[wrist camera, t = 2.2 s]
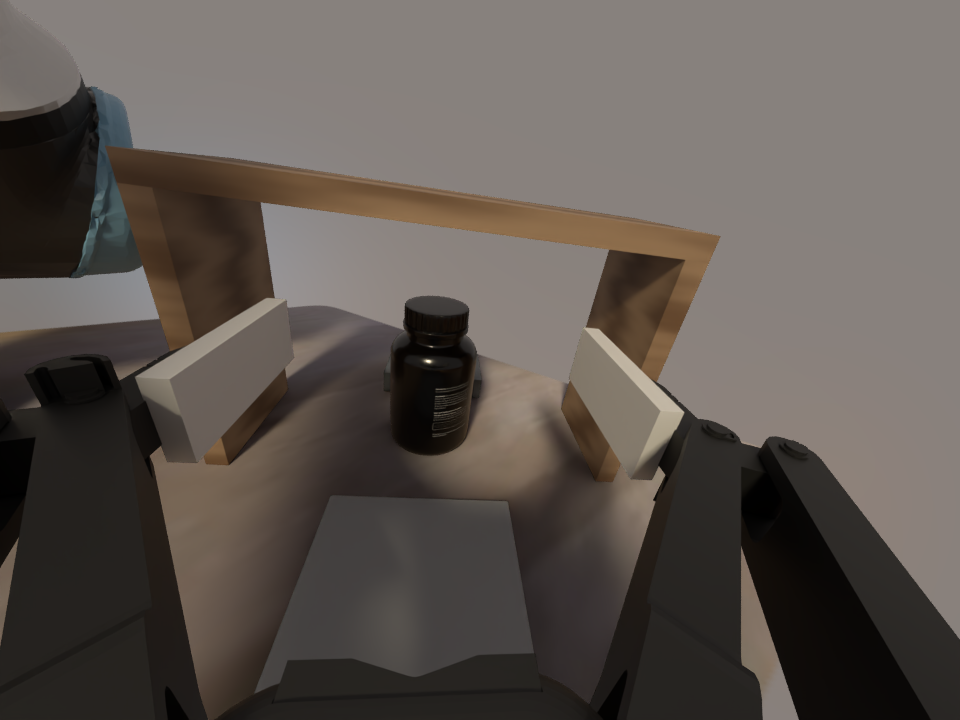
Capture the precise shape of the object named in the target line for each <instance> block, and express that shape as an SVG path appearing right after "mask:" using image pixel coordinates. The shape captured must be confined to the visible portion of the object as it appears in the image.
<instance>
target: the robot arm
mask: <svg viewBox="0 0 960 720" xmlns="http://www.w3.org/2000/svg"><path fill="white" fill-rule="evenodd" d="M105 146H114V147H124V148H133V144H132V138H131V133H130V127H129V122H128V117H127V112H126V109H125V106H124V104H123V102H122V101H121V100H120V99H118V98H117V97H115V96H113V95H111V94H108V93H105V92H103V91H102V90H99V89H97V87H92V86H91V87H85V85H84V82H83V79H82V77H81V74H80V72H79V69H78V66H77V64H76V62H75V61H74V59H73V57H72V56H71V54H70V53H69V51H68V50H67V48H66V47H65V46H64V45H63V44H62V43H61V42H60V41H59V40H58V39H57V38H56V37H55V36H53V35H52V34H51V33H49V32H48V31H47V30H46V29H45V28H43V27H42V26H41V25H39V24H38V23H36V22H35V21H33V20H32V19H31V18H29V17H28V16H26V15H25V14H23V13H22V12H21V11H19V10H18V9H16V8H15V7H14V6H12V5H11V4H10V2H9V0H0V279H5V278H6V279H7V278H64V277H69V278H80V277H83V276H84V275H96V274H110V273H124V272H130V271H133V270H135V269H138V268H140V267H141V266H142V265H143V264H142V261H141V258H140V255H139V252H138V248H137V245H136V242H135V239H134V236H133V233H132V230H131V226H130V223H129V220H128V217H127V214H126V211H125V208H124V204H123V201H122V198H121V195H120V192H119V189H118V186H117V182H116V179H115V176H114V173H113V170H112V167H111V164H110V160H109V157H108V154H107V151H106V148H105ZM293 358H294V353H293V346H292V338H291V331H290V323H289V316H288V309H287V301H286V300H285V299H275V298H266V299H264V300H262V301H261V302H259V303H257V304H256V305H254V306H252V307H251V308H249V309H247V310H246V311H244V312H242V313H241V314H239V315H237V316H236V317H234V318H232V319H231V320H229V321H227V322H226V323H224V324H222V325H221V326H219V327H217V328H216V329H214V330H212V331H211V332H209V333H207V334H206V335H204V336H202V337H201V338H199V339H197V340H196V341H194V342H192V343H191V344H189V345H187V346H184V347H181V348H178V349H175V350H172V351H170V352H168V353H166V354H165V355H163V356H161V357H159V358H158V360H154V361H153V362H151V363H149V364H147V366H146V367H142V368H141V369H139V370H137V371H135V372H134V373H132V374H130V375H129V376H127V377H125V378H123V379H122V380H120V381H119V380H118V377H117V375H116V373H115V370H114V368H113V365H112V363H111V360H110V359H109V358H108V357H107V356H103V355H96V354H84V355H73V356H67V357H62V358H57V359H53V360H50V361H47V362H43V363H40V364H38V365H36V366H34V367H32V368H30V369H29V370H28V371H27V372H26V373H25V374H24V375H25V377H26V378H27V380H28V382H29V384H30V386H31V387H32V389H33V391H34V393H35V395H36V397H37V398H38V400H39V402H40V404H41V407H38V408H28V409H18V410H7V408H6V407H5V405H4V403H3V402H2V400H1V398H0V567H1V565H2V564H3V562H4V561H5V559H6V557H7V556H8V554H9V552H10V551H11V549H12V547H13V546H14V544H15V542H16V541H17V539H18V537H19V540H18V546H17V552H16V557H15V563H14V569H13V575H12V581H11V587H10V593H9V599H8V605H7V611H6V617H5V622H4V628H3V634H2V640H1V646H0V720H208V718H207V715H206V712H205V709H204V707H203V704H202V700H201V697H200V693H199V689H198V684H197V679H196V674H195V670H194V665H193V660H192V655H191V650H190V645H189V640H188V635H187V630H186V625H185V620H184V615H183V610H182V605H181V600H180V595H179V590H178V585H177V580H176V575H175V570H174V565H173V560H172V555H171V550H170V545H169V540H168V535H167V530H166V525H165V520H164V515H163V510H162V505H161V500H160V495H159V491H158V486H157V481H156V476H155V471H154V466H153V463H152V461H151V458H150V455H151V454H152V453H153V452H154V451H155V450H156V449H158V448H159V447H160V446H161V447H162V450H163V452H164V455H165V457H166V460H167V462H180V463H198V462H199V460H200V459H201V458H202V457H203V456H204V455H205V454H206V453H207V452H208V451H209V450H210V449H211V447H212V446H213V445H214V444H215V443H216V442H217V441H218V440H219V439H220V438H221V437H222V436H223V434H224V433H225V432H226V431H227V430H228V429H229V428H230V427H231V426H232V425H233V424H234V422H235V421H236V420H237V419H238V418H239V417H240V416H241V415H242V414H243V413H244V412H245V411H246V409H247V408H248V407H249V406H250V405H251V404H252V403H253V402H254V401H255V400H256V399H257V398H258V396H259V395H260V394H261V393H262V392H263V391H264V390H265V389H266V388H267V387H268V386H269V385H270V383H271V382H272V381H273V380H274V379H275V378H276V377H277V376H278V375H279V374H280V373H281V371H282V370H283V369H284V368H285V367H286V366H287V365H288V364H289V363H290V362H291V361H292V360H293ZM569 379H570V381H571V382H572V384H573V386H574V387H575V389H576V391H577V392H578V394H579V396H580V397H581V399H582V401H583V402H584V404H585V405H586V407H587V409H588V410H589V412H590V414H591V415H592V417H593V419H594V420H595V422H596V424H597V425H598V427H599V428H600V430H601V432H602V433H603V435H604V437H605V438H606V440H607V442H608V443H609V445H610V447H611V448H612V450H613V451H614V453H615V455H616V456H617V458H618V460H619V461H620V463H621V465H622V466H623V468H624V470H625V471H626V473H627V474H628V476H629V478H630V479H635V480H652V479H653V477H654V475H655V473H656V471H657V469H658V466H659V467H660V468H661V469H662V471H663V472H664V473H665V477H664V479H663V481H662V483H661V485H660V487H659V489H658V491H657V493H656V495H655V497H654V499H653V501H655V505H654V509H653V512H652V515H651V518H650V521H649V525H648V528H647V531H646V534H645V537H644V541H643V544H642V547H641V550H640V553H639V557H638V560H637V563H636V566H635V569H634V573H633V576H632V579H631V582H630V586H629V589H628V592H627V595H626V598H625V602H624V605H623V608H622V611H621V614H620V618H619V621H618V624H617V627H616V630H615V634H614V637H613V640H612V643H611V646H610V650H609V653H608V656H607V659H606V662H605V666H604V669H603V672H602V675H601V678H600V680H599V683H598V686H597V688H596V690H595V693H594V695H593V697H592V700H591V702H590V705H589V704H588V703H587V702H585V701H584V700H583V699H582V698H581V697H579V696H578V695H577V694H576V693H575V692H573V691H572V690H570V689H569V688H567V687H566V686H564V685H563V684H561V683H559V682H557V681H555V680H553V679H551V678H549V677H547V676H544V675H541V674H539V673H538V667H537V662H536V656H535V653H524V654H489V655H476V656H474V657H471V658H468V659H466V660H463V661H460V662H457V663H455V664H452V665H449V666H447V667H444V668H441V669H438V670H436V671H433V672H430V673H427V674H425V675H422V676H418V677H411V676H407V675H404V674H401V673H397V672H394V671H391V670H388V669H385V668H382V667H378V666H375V665H372V664H369V663H366V662H362V661H359V660H356V659H353V658H347V659H312V660H288V661H287V664H286V667H285V669H284V672H283V675H282V678H281V681H280V683H278V684H275V685H273V686H270V687H268V688H266V689H264V690H261V691H259V692H257V693H255V694H253V695H251V696H249V697H248V698H246V699H244V700H243V701H241V702H240V703H238V704H236V705H235V706H233V707H231V708H230V709H229V710H227V711H226V712H225V713H223V714H222V715H221V716H219V717H218V718H216V719H215V720H763V717H762V697H761V690H760V684H759V681H758V679H757V677H756V675H755V673H753V672H752V671H750V670H749V669H747V668H746V667H744V666H743V665H742V662H741V547H742V550H743V553H744V556H745V559H746V562H747V565H748V568H749V571H750V574H751V577H752V580H753V583H754V586H755V589H756V592H757V595H758V598H759V601H760V604H761V607H762V610H763V613H764V616H765V619H766V622H767V625H768V628H769V631H770V634H771V637H772V640H773V643H774V646H775V649H776V652H777V655H778V658H779V661H780V664H781V667H782V670H783V673H784V676H785V679H786V682H787V685H788V688H789V691H790V694H791V697H792V700H793V703H794V706H795V709H796V712H797V715H798V718H799V720H960V639H959V638H958V637H957V635H956V634H955V633H954V631H953V630H952V629H951V628H950V626H949V625H948V624H947V622H946V621H945V620H944V618H943V617H942V616H941V615H940V613H939V612H938V611H937V609H936V608H935V607H934V605H933V604H932V603H931V602H930V600H929V599H928V598H927V596H926V595H925V594H924V593H923V591H922V590H921V589H920V587H919V586H918V585H917V583H916V582H915V581H914V579H913V578H912V577H911V576H910V575H909V573H908V572H907V570H906V569H905V568H904V566H903V565H902V564H901V563H900V561H899V560H898V559H897V557H896V556H895V555H894V554H893V552H892V551H891V550H890V548H889V547H888V546H887V544H886V543H885V542H884V541H883V539H882V538H881V537H880V535H879V534H878V533H877V531H876V530H875V529H874V528H873V527H872V525H871V524H870V522H869V521H868V520H867V518H866V517H865V516H864V515H863V513H862V512H861V511H860V509H859V508H858V507H857V505H856V504H855V503H854V502H853V500H852V499H851V498H850V496H849V495H848V494H847V492H846V491H845V490H844V489H843V487H842V486H841V485H840V484H839V482H838V481H837V479H836V478H835V477H834V476H833V474H832V473H831V472H830V470H829V469H828V468H827V466H826V465H825V464H824V463H823V461H822V460H821V459H820V458H819V457H818V456H817V455H816V454H815V453H814V452H812V451H810V450H809V449H808V448H807V447H806V446H804V445H802V444H799V443H798V442H796V441H793V440H792V441H791V440H788V439H785V438H781V437H769V438H768V439H766V441H765V443H764V444H763V446H762V447H761V448H758V447H754V446H750V445H746V444H742V443H741V441H740V439H739V437H738V436H737V435H736V434H735V433H734V432H732V431H731V430H730V429H728V428H726V427H724V426H722V425H720V424H718V423H716V422H712V421H709V420H703V419H697V418H696V417H695V416H694V415H693V414H692V413H691V412H690V411H689V410H688V409H687V408H686V407H684V406H683V404H681V403H680V402H678V400H677V399H676V398H675V397H674V396H672V395H671V393H670V392H669V391H668V390H667V389H666V388H665V387H663V386H662V385H660V384H659V383H657V382H655V381H654V380H652V379H650V378H649V377H648V376H647V375H645V374H644V373H643V372H642V371H641V370H640V369H639V368H638V367H637V366H636V365H635V364H634V363H633V362H632V361H631V360H630V359H629V358H628V357H627V356H626V355H625V354H624V353H623V352H622V351H621V350H620V349H619V348H618V347H617V346H616V345H615V344H614V343H613V342H612V341H611V340H610V339H608V338H607V337H606V336H605V335H604V334H603V333H602V332H601V331H600V330H599V329H595V328H583V330H582V334H581V337H580V340H579V344H578V348H577V351H576V355H575V358H574V362H573V365H572V369H571V373H570V376H569Z"/></svg>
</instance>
